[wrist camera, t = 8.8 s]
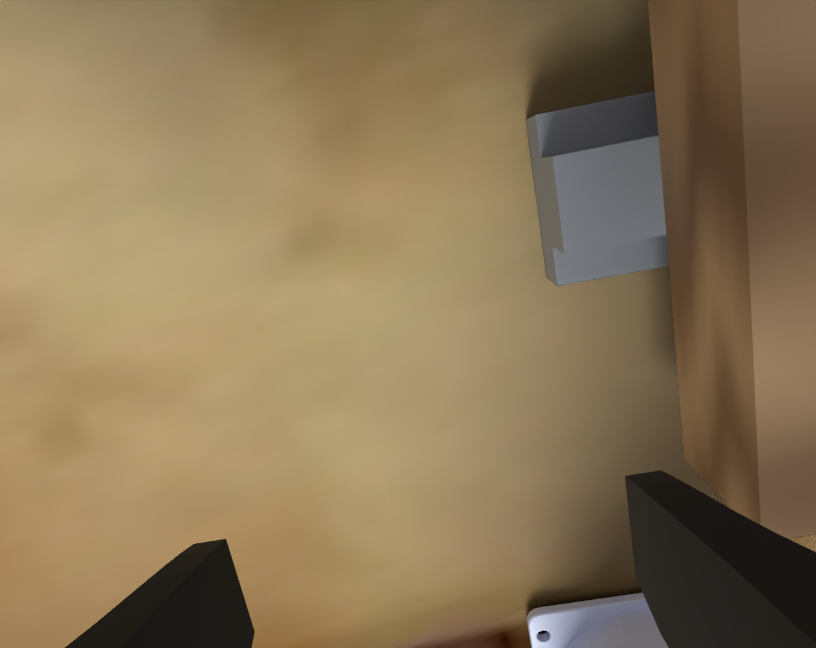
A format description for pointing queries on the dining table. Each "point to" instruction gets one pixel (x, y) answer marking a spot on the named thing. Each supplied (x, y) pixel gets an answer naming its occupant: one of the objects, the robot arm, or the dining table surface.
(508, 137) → the dining table surface
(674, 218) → the beam
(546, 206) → the fulcrum
